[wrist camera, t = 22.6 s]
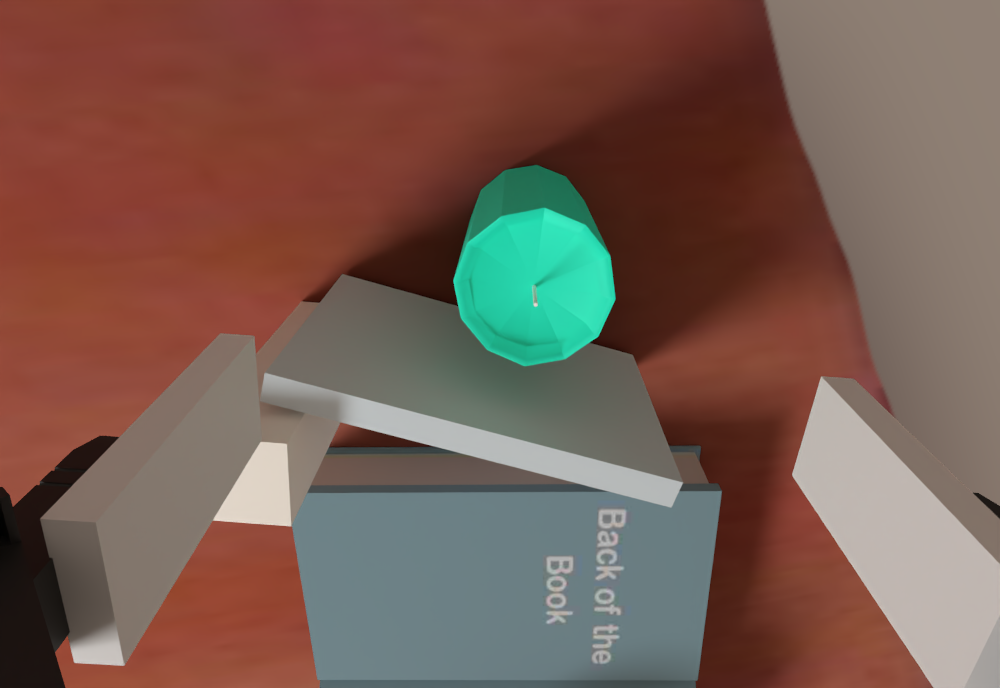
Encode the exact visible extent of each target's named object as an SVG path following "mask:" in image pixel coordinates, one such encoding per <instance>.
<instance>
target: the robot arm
mask: <svg viewBox="0 0 1000 688" xmlns="http://www.w3.org/2000/svg"><path fill="white" fill-rule="evenodd" d="M261 440H262V433H261V420H260V406H259V392H258V379H257V365H256V352H255V338H254V336H250V335H236V334H222V333H220V334H219V335H218V336H217V337H216V339H215V340H214V341H213V342H212V343H211V344H210V345H209V346H208V347H207V348H206V349H205V350H204V351H203V352H202V353H201V354H200V355H199V356H198V357H197V358H196V359H195V360H194V361H193V362H192V363H191V364H190V365H189V366H188V367H187V368H186V369H185V370H184V371H183V372H182V373H181V374H180V376H179V377H178V378H177V379H176V380H175V381H174V382H173V383H172V384H171V385H170V386H169V387H168V388H167V389H166V390H165V391H164V392H163V393H162V394H161V395H160V396H159V397H158V398H157V399H156V400H155V401H154V402H153V403H152V404H151V405H150V406H149V407H148V408H147V409H146V410H145V411H144V413H143V414H142V415H141V416H140V417H139V418H138V419H137V420H136V421H135V422H134V423H133V424H132V425H131V426H130V427H129V428H128V429H127V430H126V431H125V432H124V433H123V434H122V435H121V436H120V437H111V436H99V437H97V438H95V439H93V440H91V441H89V442H88V443H86V444H84V445H82V446H80V447H78V448H76V449H74V450H73V451H72V452H71V453H70V454H69V455H67V456H66V457H65V458H64V459H63V460H62V461H61V462H60V463H59V464H58V465H57V466H56V467H55V470H54V471H51V472H50V473H48V474H47V475H46V476H45V477H44V478H43V479H42V480H41V481H40V485H36V486H35V487H34V488H33V489H32V490H31V491H29V492H28V493H27V494H26V495H25V496H24V497H23V498H22V499H21V500H20V501H19V502H18V503H17V504H16V505H15V506H14V507H12V503H11V499H10V495H9V494H8V493H7V492H6V491H5V489H4V488H3V487H0V688H65V685H64V681H63V678H62V675H61V671H60V668H59V665H58V662H57V658H56V655H55V652H56V650H57V649H58V648H59V646H60V645H61V644H62V642H63V641H64V640H65V638H66V637H67V635H68V638H69V642H70V647H71V651H72V655H73V659H74V663H87V664H104V665H121V666H124V665H125V664H126V662H127V660H128V659H129V657H130V655H131V654H132V652H133V651H134V649H135V647H136V646H137V644H138V642H139V641H140V639H141V637H142V636H143V634H144V632H145V631H146V629H147V628H148V626H149V624H150V623H151V621H152V619H153V618H154V616H155V614H156V613H157V611H158V609H159V608H160V606H161V605H162V603H163V601H164V600H165V598H166V596H167V595H168V593H169V591H170V590H171V588H172V586H173V585H174V583H175V582H176V580H177V578H178V577H179V575H180V573H181V572H182V570H183V568H184V567H185V565H186V563H187V562H188V560H189V559H190V557H191V555H192V554H193V552H194V550H195V549H196V547H197V545H198V544H199V542H200V540H201V539H202V537H203V536H204V534H205V532H206V531H207V529H208V527H209V526H210V524H211V522H212V521H213V519H214V517H215V516H216V514H217V513H218V511H219V509H220V508H221V506H222V504H223V503H224V501H225V499H226V498H227V496H228V494H229V493H230V491H231V490H232V488H233V486H234V485H235V483H236V481H237V480H238V478H239V476H240V475H241V473H242V471H243V470H244V468H245V467H246V465H247V463H248V462H249V460H250V458H251V457H252V455H253V453H254V452H255V450H256V448H257V447H258V445H259V444H260V442H261ZM792 476H793V478H794V479H795V481H796V482H797V484H798V485H799V487H800V488H801V490H802V491H803V493H804V494H805V496H806V497H807V499H808V500H809V502H810V503H811V505H812V506H813V508H814V509H815V511H816V512H817V514H818V515H819V517H820V518H821V520H822V521H823V523H824V524H825V526H826V527H827V529H828V530H829V532H830V533H831V535H832V536H833V538H834V539H835V541H836V542H837V544H838V545H839V547H840V548H841V550H842V551H843V553H844V554H845V556H846V557H847V559H848V560H849V562H850V563H851V565H852V566H853V568H854V569H855V571H856V572H857V574H858V575H859V577H860V578H861V580H862V581H863V583H864V584H865V586H866V587H867V589H868V590H869V592H870V593H871V595H872V596H873V598H874V599H875V601H876V602H877V604H878V605H879V607H880V608H881V610H882V611H883V613H884V614H885V616H886V617H887V619H888V620H889V622H890V623H891V625H892V626H893V628H894V629H895V631H896V632H897V634H898V635H899V637H900V638H901V640H902V641H903V643H904V644H905V646H906V647H907V649H908V650H909V652H910V653H911V655H912V656H913V658H914V659H915V661H916V662H917V664H918V665H919V667H920V668H921V670H922V671H923V673H924V674H925V676H926V677H927V679H928V680H929V682H930V683H931V685H932V686H933V688H1000V506H999V505H997V504H995V503H994V502H992V501H990V500H989V499H987V498H985V497H984V496H982V495H981V494H979V493H972V492H971V491H970V490H969V489H968V488H967V487H966V486H965V485H963V483H962V482H961V481H960V480H959V479H957V478H956V477H955V476H954V475H953V474H952V473H951V472H950V471H949V470H948V469H947V468H946V467H945V466H944V465H943V464H942V463H941V462H940V461H939V460H938V459H937V458H936V457H935V456H934V455H932V454H931V453H930V452H929V451H928V450H927V449H926V448H925V447H924V446H923V445H922V444H921V443H920V442H919V441H918V440H917V439H916V438H915V437H914V436H913V435H912V434H911V433H910V432H908V431H907V430H906V429H905V428H904V427H903V426H902V425H901V424H900V423H899V422H898V421H897V420H896V419H895V418H894V417H893V416H892V415H891V414H890V413H889V412H888V411H887V410H886V409H885V408H884V407H883V406H881V405H880V404H879V403H878V402H877V401H876V400H875V399H874V398H873V397H872V396H871V395H870V394H869V393H868V392H867V391H866V390H865V389H864V388H863V387H862V386H861V385H860V384H859V383H858V382H856V381H855V380H854V379H850V378H836V377H822V376H821V379H820V382H819V386H818V389H817V393H816V396H815V399H814V403H813V406H812V410H811V413H810V416H809V420H808V423H807V426H806V430H805V433H804V437H803V440H802V443H801V447H800V450H799V453H798V457H797V460H796V464H795V467H794V470H793V474H792Z"/></svg>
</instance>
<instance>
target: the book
mask: <svg viewBox="0 0 1000 688" xmlns="http://www.w3.org/2000/svg"><path fill="white" fill-rule="evenodd" d="M669 448H670V450H671V453H672V455H673V458H674V461H675V463H676V466H677V468H678V471H679V473H680V476H681V478H682V481H683V484H682V486H681V488H680V490H679V493H678V495H677V497H676V499H675V501H674V503H673V505H672V507H667V506H663V505H659V504H655V503H651V502H647V501H644V500H640V499H636V498H632V497H628V496H624V495H620V494H616V493H613V492H609V491H605V490H601V489H597V488H593V487H589V486H586V485H582V484H578V483H574V482H570V481H566V480H562V479H558V478H555V477H551V476H547V475H543V474H539V473H535V472H531V471H527V470H524V469H520V468H516V467H512V466H508V465H504V464H500V463H496V462H493V461H489V460H485V459H481V458H477V457H473V456H469V455H466V454H462V453H458V452H454V451H450V450H446V449H442V448H438V447H338V448H328V450H327V452H326V454H325V456H324V458H323V460H322V462H321V464H320V467H319V469H318V471H317V473H316V475H315V477H314V479H313V481H312V483H311V486H310V488H309V490H308V492H307V494H306V496H305V498H304V500H303V503H302V505H301V507H300V509H299V511H298V513H297V515H296V517H295V519H294V522H293V524H292V528H293V534H294V540H295V546H296V552H297V558H298V564H299V570H300V576H301V582H302V588H303V594H304V601H305V607H306V613H307V619H308V625H309V631H310V637H311V643H312V649H313V655H314V661H315V667H316V673H317V679H318V680H320V688H696V683H695V681H698V674H699V666H700V658H701V650H702V643H703V635H704V627H705V619H706V611H707V604H708V596H709V588H710V580H711V572H712V565H713V557H714V549H715V541H716V533H717V526H718V518H719V510H720V502H721V494H722V490H721V488H720V486H719V484H718V483H709V482H708V480H707V478H706V476H705V473H704V471H703V469H702V467H701V465H700V462H699V460H700V451H701V447H700V446H669Z"/></svg>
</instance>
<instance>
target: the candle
mask: <svg viewBox="0 0 1000 688" xmlns="http://www.w3.org/2000/svg"><path fill="white" fill-rule="evenodd" d="M453 282H454V287H455V292H456V297H457V302H458V307H459V312H460V316H461V319H462V321H463V322H464V323H465V324H466V325H467V327H468V328H469V329H470V330H471V331H472V333H473V334H474V335H475V336H476V337H477V339H478V340H479V341H480V342H481V343H482V345H483V346H484V347H485V348H486V350H488V351H490V352H493V353H495V354H497V355H500V356H502V357H504V358H506V359H509V360H511V361H513V362H516V363H518V364H520V365H523V366H530V365H536V364H542V363H547V362H553V361H558V360H564V359H566V358H568V357H569V356H571V355H572V354H574V353H575V352H576V351H578V350H579V349H581V348H582V347H584V346H585V345H587V344H588V343H590V342H591V341H593V340H594V339H595V338H597V337H598V336H599V334H600V332H601V330H602V328H603V326H604V323H605V321H606V319H607V317H608V315H609V313H610V310H611V308H612V306H613V304H614V302H615V299H616V298H615V289H614V281H613V273H612V265H611V256H610V254H609V252H608V250H607V248H606V245H605V243H604V241H603V239H602V237H601V235H600V233H599V231H598V228H597V226H596V224H595V222H594V220H593V218H592V216H591V214H590V212H589V209H588V207H587V205H586V203H585V201H584V200H583V198H582V197H581V196H580V194H579V193H578V192H577V190H576V189H575V188H574V187H573V185H572V184H571V183H570V181H569V180H568V179H567V177H566V176H563V175H561V174H558V173H556V172H553V171H551V170H548V169H546V168H543V167H541V166H538V165H533V166H526V167H520V168H514V169H507V170H505V171H503V172H502V173H501V174H500V175H498V176H497V177H496V178H495V179H494V180H492V181H491V182H490V183H489V184H487V185H486V186H485V187H484V188H483V189H481V191H480V194H479V197H478V199H477V202H476V205H475V207H474V210H473V213H472V215H471V218H470V222H469V225H468V229H467V232H466V236H465V240H464V243H463V247H462V251H461V254H460V258H459V262H458V265H457V269H456V272H455V276H454V280H453Z"/></svg>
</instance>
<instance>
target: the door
mask: <svg viewBox="0 0 1000 688" xmlns="http://www.w3.org/2000/svg"><path fill="white" fill-rule="evenodd" d="M260 402H264V403H268V404H272V405H276V406H280V407H284V408H287V409H291V410H295V411H299V412H303V413H307V414H311V415H315V416H318V417H322V418H326V419H330V420H334V421H338V422H342V423H346V424H349V425H353V426H357V427H361V428H365V429H369V430H373V431H376V432H380V433H384V434H388V435H392V436H396V437H400V438H404V439H407V440H411V441H415V442H419V443H423V444H427V445H431V446H435V447H438V448H442V449H446V450H450V451H454V452H458V453H462V454H466V455H469V456H473V457H477V458H481V459H485V460H489V461H493V462H496V463H500V464H504V465H508V466H512V467H516V468H520V469H524V470H527V471H531V472H535V473H539V474H543V475H547V476H551V477H555V478H558V479H562V480H566V481H570V482H574V483H578V484H582V485H586V486H589V487H593V488H597V489H601V490H605V491H609V492H613V493H616V494H620V495H624V496H628V497H632V498H636V499H640V500H644V501H647V502H651V503H655V504H659V505H663V506H667V507H672V505H673V503H674V501H675V499H676V497H677V495H678V493H679V490H680V488H681V486H682V484H683V481H682V478H681V476H680V473H679V471H678V468H677V466H676V463H675V461H674V458H673V455H672V453H671V450H670V448H669V445H668V443H667V440H666V438H665V435H664V433H663V430H662V428H661V425H660V422H659V420H658V417H657V415H656V412H655V410H654V407H653V405H652V402H651V400H650V397H649V395H648V392H647V389H646V387H645V384H644V382H643V379H642V377H641V374H640V372H639V369H638V367H637V364H636V362H635V359H634V356H633V355H632V354H628V353H624V352H621V351H617V350H614V349H610V348H607V347H603V346H599V345H596V344H592V343H588V344H587V345H585V346H584V347H582V348H581V349H579V350H578V351H576V352H575V353H574V354H572V355H571V356H569V357H568V358H566V359H564V360H558V361H553V362H547V363H542V364H536V365H530V366H523V365H520V364H518V363H516V362H513V361H511V360H509V359H506V358H504V357H502V356H500V355H497V354H495V353H493V352H490V351H488V350H486V348H485V347H484V346H483V345H482V343H481V342H480V341H479V340H478V339H477V337H476V336H475V335H474V334H473V333H472V331H471V330H470V329H469V328H468V327H467V325H466V324H465V323H464V322H463V321H462V319H461V316H460V312H459V307H458V306H456V305H452V304H449V303H445V302H441V301H438V300H434V299H431V298H427V297H423V296H420V295H416V294H413V293H409V292H405V291H402V290H398V289H395V288H391V287H387V286H384V285H380V284H377V283H373V282H370V281H366V280H362V279H359V278H355V277H352V276H348V275H344V274H342V275H341V276H340V277H339V279H338V280H337V281H336V283H335V284H334V285H333V286H332V288H331V289H330V290H329V292H328V293H327V294H326V295H325V297H324V298H323V299H322V300H321V302H320V303H319V304H318V306H317V307H316V308H315V309H314V311H313V312H312V313H311V314H310V316H309V317H308V318H307V320H306V321H305V322H304V323H303V325H302V326H301V327H300V328H299V330H298V331H297V332H296V334H295V335H294V336H293V337H292V339H291V340H290V341H289V342H288V344H287V345H286V346H285V348H284V349H283V350H282V351H281V353H280V354H279V355H278V357H277V358H276V359H275V360H274V362H273V363H272V364H271V365H270V367H269V368H268V369H267V371H266V372H265V374H264V380H263V386H262V392H261V397H260Z"/></svg>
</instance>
